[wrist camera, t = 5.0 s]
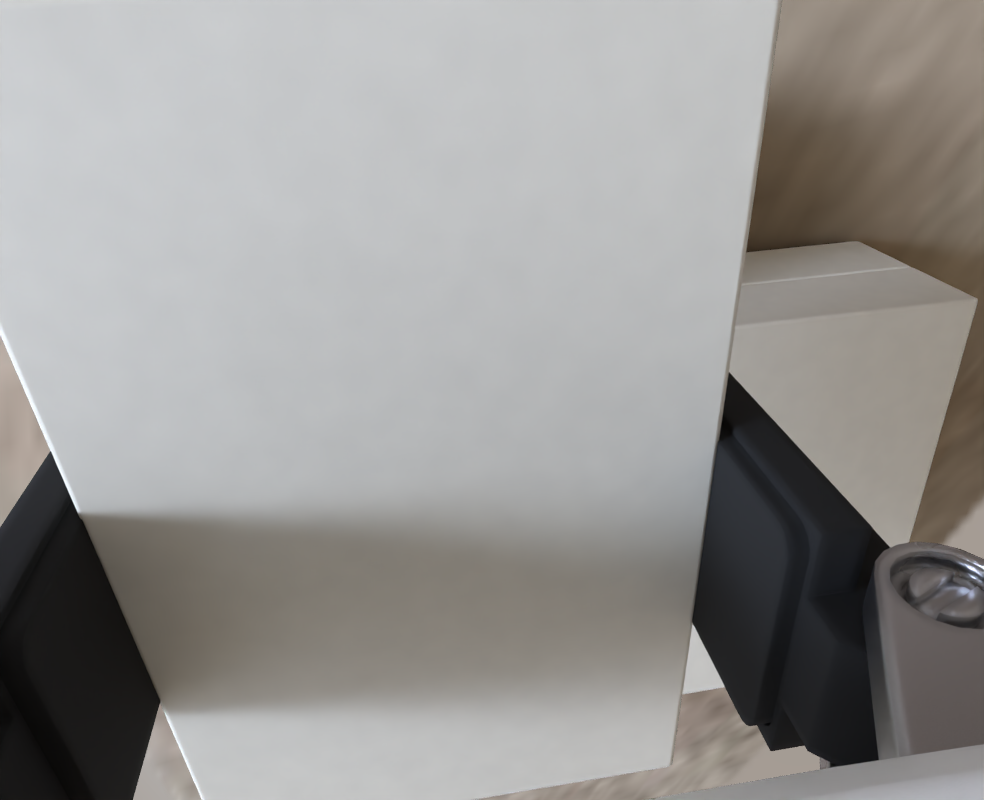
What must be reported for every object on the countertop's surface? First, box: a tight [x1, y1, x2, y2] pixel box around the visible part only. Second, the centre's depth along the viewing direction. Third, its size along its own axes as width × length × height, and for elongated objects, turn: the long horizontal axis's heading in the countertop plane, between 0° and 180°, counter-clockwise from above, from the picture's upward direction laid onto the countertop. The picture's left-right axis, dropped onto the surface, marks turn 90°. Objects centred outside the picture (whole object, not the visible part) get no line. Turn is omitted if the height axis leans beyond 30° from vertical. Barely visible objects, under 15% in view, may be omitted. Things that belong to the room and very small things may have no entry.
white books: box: [682, 241, 978, 694], centre depth 20 cm, size 11×8×4 cm
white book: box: [0, 0, 782, 800], centre depth 9 cm, size 11×7×2 cm, turn 3°
